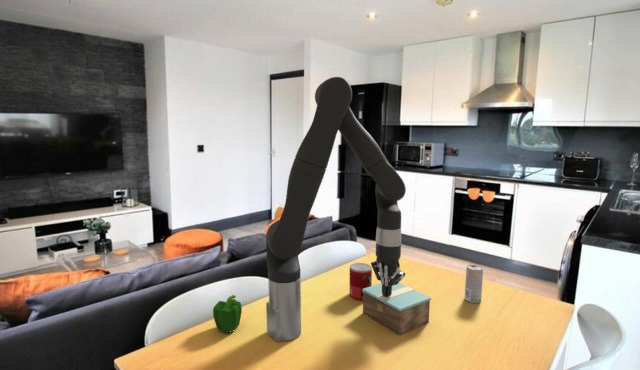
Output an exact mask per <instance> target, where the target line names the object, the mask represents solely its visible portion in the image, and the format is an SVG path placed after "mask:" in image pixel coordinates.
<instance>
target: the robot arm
mask: <svg viewBox="0 0 640 370" xmlns="http://www.w3.org/2000/svg"><path fill="white" fill-rule="evenodd" d="M314 100H315V104H316V108H315V112H314V116H313V119H312V122H311V124H310V127H309V129H308V130H307V132H306V134H305V136H304V137H303V139H302V142H301V143H300V145H299V148H298V149H297V151H296V154H295V157H294V160H293V162H292V166H291V168H290V171H289V175H288V181H287V187H286V196H285V202H284V207H283V210H282V213H281V215H280V216H279V217H280V218H279V220H276V221H274V222H273V223H271V224H270V226H269V227H268V229H267V231H266V235H265V239H266V240H265V242H266V243H265V245H266V247H265V248H266V250H265V251H266V267H267V276H268V277H267V278H268V282H267V283H268V301H267V302H266V305H265V306H266V308H265V309H266V333H267V332H268V333H269V334H270V335H269V334H268V333H267V334H268V335H269V337H270V338H272V337H273V338H272V340H273V341H275V342H276V341H278V342H281V341H280V340H284V341H283V342H288V341H287V340H289V341H293V340H296V339H297V338H299V337H300V335H301V333H302V306H301V305H302V295H301V294H302V291H301V289H302V285H301V283H302V282H301V280H302V279H301V278H302V277H301V265H300V261H299V252H300V250H301V248H302V245H303V241H304V238H305V234H306V233H305V232H306V231H307V230H306V229H307V224H308V220H309V217H310V215H311V214H310V213H311V211H312V209H313V207H314V203H315V201H316V198H317V195H318V193H319V189H320V187H321V185H322V183H323V180H324V176H325V173H326V171H327V168H328V166H329V165H328V164H329V162H330V157H331V154H332V152H333V149H334V146H335V145H334V144H335V140H336V138H337V134H338V131H339V133H340V134H341V135H342V137H343V138H344V140H345V141H346V142H347V145H348V146H349V147H350V149H351V150H352V152H353V154H354V155H355V157H356V159H357V160H358V161H359V163H360V165H361V167H363V169H364V171H365V172H366V174H367V175H368V176H369V177H371V178H372V179H373V180H374V182H375V200H376V208H377V221H376V223H377V225H376V232H375V233H376V234H375V257H376V259H375V261H372V262H370V266H371V267H372V271H373V272H374V275H375V277H376V280H377V281H380V283H381V284H382V295H383V296H385V297H389V296H391V294H392V286H393V285H397V284H398V283H401V281H402V280H403V278H404V277H405V276H406V272H405V271H402V270H401V268H400V267H401V265H400V259H401V255H402V254H401V253H402V212H401V210H400V208H399V204H398V202H399V201H401V200H402V199H403V198H404V197H405V194H406V191H407V190H406V184H405V182H404V180H403V179H402V177H401V175H399V173H398V172H397V170H396V169H395V168H394V167H393V166H392V165H391V164H390V163H389V161H388V159H387V157H386V155H385V154H384V153H383V151H382V149H381V148H380V146H379V144H378V143H377V142H376V140H375V139H374V137H372V135H371V134H370V133H369V132H368V131H367V130H366V129H365V128H364V126H363V125H362V124H361V123H360V122H359V121H358V118H356V116H355V114H354V112H353V110H352V109H351V107H350V105H351V102H352V100H353V89H352V87H351V84H350V83H349V81H348V80H347V79H345V78H343V77H341V76H334V77H333V76H332V77H330V78H327V79H325V80H324V81H323V82H321V83H320V84H319V85H318V87H316V89H315V92H314ZM292 339H293V340H292Z"/></svg>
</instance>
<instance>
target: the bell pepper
mask: <svg viewBox="0 0 640 370" xmlns="http://www.w3.org/2000/svg"><path fill="white" fill-rule="evenodd" d="M236 297H237V296H236V294H232V295H230V296H228V297H227V299H226V301H222V300H218V302H217V303H216V304H215V305H214V306H213V309H212V315H213V319H214V323H215V326H216V328H217V330H218V331H219V330H221V331H220V332H222V331H223V333H224V332H230V331H233V330H235V329H236V330H237V329H238V327H239V325H240V321H241V318H242V311H243V310H242V308H243V306H242V303H241V301H237V300H236ZM236 330H235V331H236ZM233 332H234V331H233Z"/></svg>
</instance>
